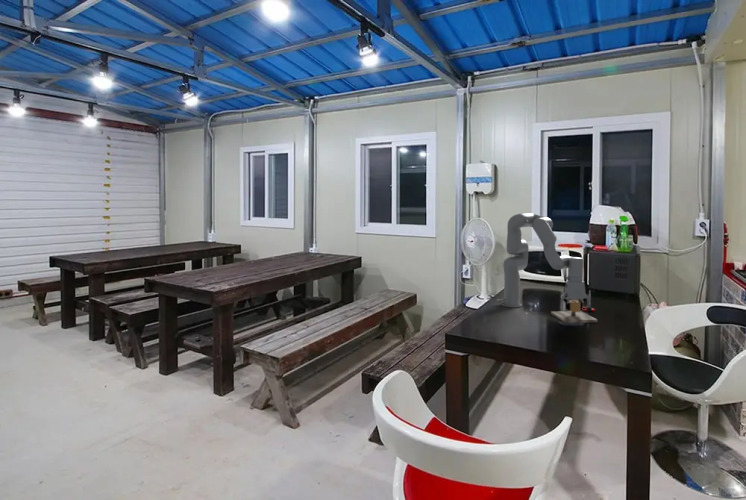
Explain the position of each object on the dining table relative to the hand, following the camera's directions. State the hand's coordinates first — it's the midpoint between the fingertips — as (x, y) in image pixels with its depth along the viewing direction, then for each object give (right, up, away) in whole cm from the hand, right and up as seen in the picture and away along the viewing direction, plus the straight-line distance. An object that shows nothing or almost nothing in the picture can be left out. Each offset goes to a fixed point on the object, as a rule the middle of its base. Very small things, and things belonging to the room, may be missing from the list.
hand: (574, 309), depth 242 cm
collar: (0, -1, 0) cm, 1 cm away
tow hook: (+17, -3, +18) cm, 25 cm away
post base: (0, -5, +1) cm, 5 cm away
